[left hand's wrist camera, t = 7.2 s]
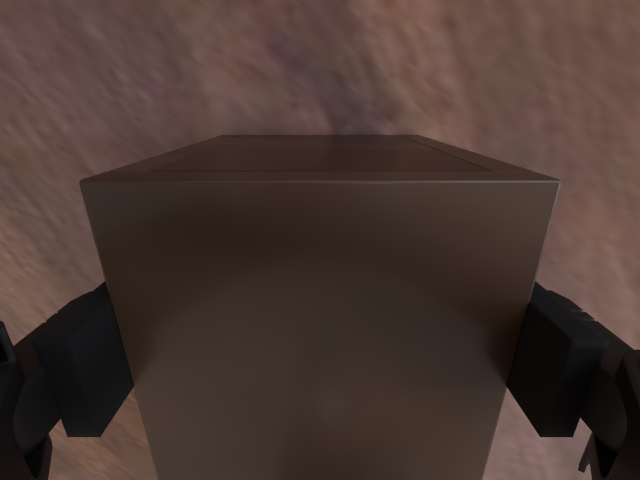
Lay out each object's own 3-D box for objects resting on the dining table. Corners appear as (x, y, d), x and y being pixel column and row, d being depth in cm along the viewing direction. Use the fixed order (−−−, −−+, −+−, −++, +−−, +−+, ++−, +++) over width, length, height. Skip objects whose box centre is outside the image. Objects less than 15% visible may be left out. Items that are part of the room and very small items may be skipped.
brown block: (389, 426, 25) (437, 651, 15) (251, 426, 25) (203, 651, 15) (419, 134, 17) (563, 179, 7) (221, 135, 17) (76, 180, 7)
